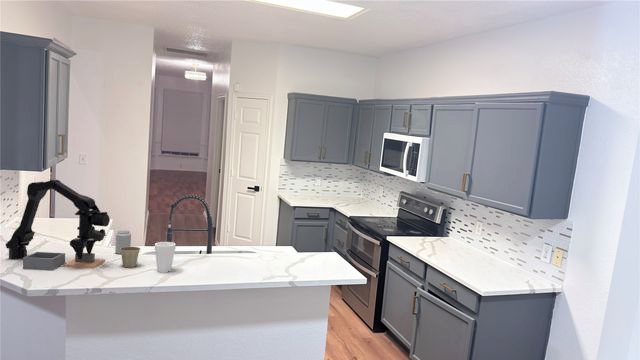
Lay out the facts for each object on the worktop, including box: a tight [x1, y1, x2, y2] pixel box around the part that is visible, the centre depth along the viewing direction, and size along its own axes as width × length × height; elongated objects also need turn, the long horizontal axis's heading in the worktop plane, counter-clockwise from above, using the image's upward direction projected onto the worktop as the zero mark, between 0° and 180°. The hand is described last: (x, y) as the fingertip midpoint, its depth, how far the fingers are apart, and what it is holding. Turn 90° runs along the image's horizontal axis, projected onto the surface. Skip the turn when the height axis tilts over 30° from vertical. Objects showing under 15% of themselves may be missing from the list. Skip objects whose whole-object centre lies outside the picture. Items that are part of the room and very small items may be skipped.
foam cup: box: [154, 241, 176, 273], centre depth 216 cm, size 10×9×13 cm
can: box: [114, 229, 132, 255], centre depth 243 cm, size 8×8×12 cm
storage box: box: [22, 251, 66, 271], centre depth 208 cm, size 13×11×6 cm
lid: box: [62, 252, 106, 269], centre depth 216 cm, size 14×12×6 cm
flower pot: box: [120, 246, 141, 268], centre depth 220 cm, size 9×9×9 cm
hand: (84, 256), depth 216 cm, fingers open, 9 cm apart
